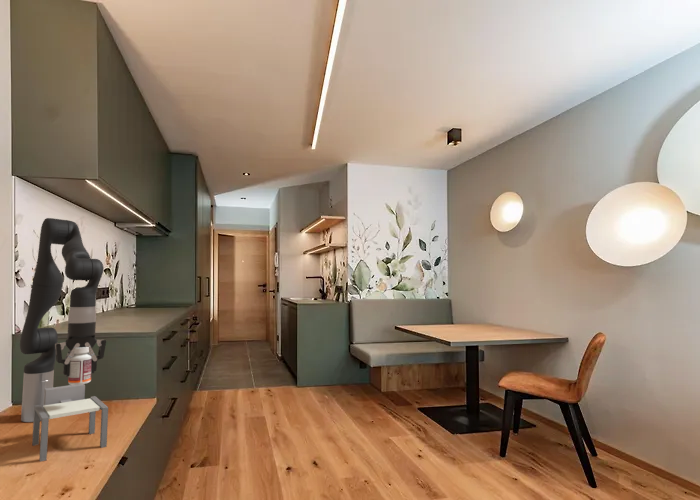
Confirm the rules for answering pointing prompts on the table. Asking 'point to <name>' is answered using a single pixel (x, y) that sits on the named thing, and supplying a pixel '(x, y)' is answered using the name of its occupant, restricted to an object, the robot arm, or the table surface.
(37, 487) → the table surface
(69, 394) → the trapdoor
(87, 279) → the robot arm
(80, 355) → the pill bottle
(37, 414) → the stand
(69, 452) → the table surface
